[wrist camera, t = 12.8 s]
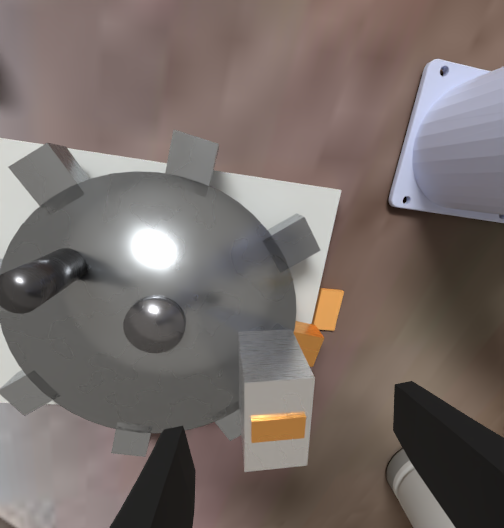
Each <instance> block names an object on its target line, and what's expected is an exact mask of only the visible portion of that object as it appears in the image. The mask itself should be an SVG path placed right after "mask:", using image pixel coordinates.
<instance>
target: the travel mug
mask: <svg viewBox="0 0 504 528" xmlns="http://www.w3.org/2000/svg"><path fill="white" fill-rule="evenodd" d="M387 480H388V483H389V485H390V486H391V488H392V490H393V492H394V494H395V495H396V497H397V499H398V500H399V502H400V504H401V506H402V508H403V510H404V512H405V514H406V515H407V517H408V519H409V521H410V523H411V524H412V526H413V528H455V526H454V525H453V523H452V522H451V521H450V519H449V518H448V516H447V515H446V513H445V512H444V510H443V509H442V508H441V506H440V505H439V503H438V502H437V500H436V499H435V497H434V496H433V494H432V493H431V492H430V490H429V489H428V487H427V486H426V484H425V483H424V481H423V480H422V478H421V477H420V475H419V474H418V473H417V471H416V470H415V468H414V467H413V465H412V464H411V462H410V460H409V458H408V456H407V455H406V453H405V451H404V449H403V448H402V449H401V450H400V451H399V452H397V453H396V455H395V456H394V457H393V458H392V460H391V461H390V463H389V465H388V468H387Z"/></svg>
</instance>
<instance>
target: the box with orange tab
mask: <svg viewBox="0 0 504 528" xmlns="http://www.w3.org/2000/svg"><path fill="white" fill-rule="evenodd" d="M238 334H239V411H240V423H241V436H242V448H243V460H244V472H250V471H259V470H269V469H278V468H288V467H297V466H307V461H308V450H309V439H310V428H311V416H312V405H313V394H314V383H315V377H314V375H313V373H312V371H311V369H310V367H309V364H308V362H307V360H306V358H305V356H304V354H303V352H302V350H301V348H300V346H299V343H298V341H297V339H296V337H295V335H294V333H293V331H292V329H287V330H267V331H247V332H238Z"/></svg>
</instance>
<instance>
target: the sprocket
mask: <svg viewBox="0 0 504 528" xmlns="http://www.w3.org/2000/svg"><path fill="white" fill-rule="evenodd" d="M218 149H219V144H217V143H214V142H211V141H208V140H205V139H202V138H199V137H195V136H192V135H189V134H186V133H183V132H180V131H177V130H173V135H172V140H171V146H170V151H169V156H168V161H167V167H166V172H165V173H160V172H139V171H134V172H123V173H112V174H108V175H104V176H99V177H95V178H91V179H89V178H88V176H87V175H86V173H85V172H84V171H83V169H82V168H81V167H80V165H79V164H78V162H77V161H76V160H75V158H74V157H73V155H72V154H71V153H70V151H69V150H68V149H67V147H64V146H60V145H55V144H51V143H46V144H44V145H43V146H41V147H39V148H38V149H36V150H35V151H33V152H31V153H30V154H28V155H27V156H25V157H23V158H22V159H20V160H18V161H17V162H15V163H14V164H12V165H10V166H9V167H8V168H9V169H10V170H11V171H12V173H13V174H14V175H15V176H16V178H17V179H18V180H19V181H20V182H21V184H22V185H23V186H24V187H25V189H26V190H27V191H28V192H29V194H30V195H31V196H32V197H33V199H34V200H35V201H36V202H37V203H38V205H39V206H40V207H38V208H37V209H36V210H35V211H34V212H33V213H32V214H31V215H30V216H29V217H28V218H27V219H26V221H25V222H24V223H23V224H22V225H21V226H20V228H19V229H18V231H17V232H16V234H15V236H14V237H13V239H12V240H11V242H10V244H9V246H8V248H7V251H6V253H5V255H4V258H3V259H1V258H0V324H1V328H2V332H3V335H4V338H5V340H6V342H7V345H8V347H9V350H10V351H11V353H12V355H13V356H14V358H15V360H16V362H17V363H18V365H19V366H20V368H21V369H22V370H21V371H19V372H17V373H16V374H15V375H14V376H13V377H12V378H11V379H10V380H9V381H8V382H6V383H5V384H4V385H3V386H2V387H1V388H0V395H1V396H2V397H4V398H5V399H6V400H7V401H8V402H9V403H10V404H11V405H13V406H14V407H15V408H16V409H17V410H18V411H19V412H20V413H22V414H23V415H24V416H26V415H27V414H29V413H31V412H33V411H35V410H36V409H38V408H40V407H42V406H43V405H45V404H47V403H49V402H51V401H52V400H53V401H54V402H56V403H57V404H59V405H60V406H62V407H64V408H65V409H67V410H68V411H70V412H72V413H74V414H76V415H78V416H80V417H82V418H84V419H86V420H88V421H91V422H94V423H97V424H100V425H103V426H106V427H110V428H114V429H116V432H115V437H114V442H113V448H112V453H115V454H124V455H134V456H143V457H145V456H146V452H147V449H148V445H149V441H150V438H151V434H152V433H162V431H163V430H164V429H168V428H173V427H178V426H183V427H184V430H189V429H193V428H197V427H200V426H204V425H207V424H210V423H212V422H215V423H216V424H217V425H218V427H219V428H220V429H221V430H222V432H223V433H224V434H225V435H226V437H227V438H228V439H229V440H230V441H231V440H233V439H235V438H236V437H238V436H240V435H241V423H240V411H239V334H238V332H247V331H267V330H287V329H292V331H293V333H294V335H295V337H296V339H297V341H298V343H299V346H300V348H301V350H302V352H303V354H304V356H305V358H306V360H307V362H308V364H309V366H310V367H313V365H314V363H315V360H316V357H317V355H318V352H319V350H320V347H321V345H322V342H323V340H324V337H323V336H322V334H321V333H320V331H319V329H318V328H317V326H316V325H313V324H308V323H303V322H299V321H296V294H295V289H294V283H293V278H292V275H291V272H290V270H289V268H290V267H292V266H294V265H296V264H297V263H299V262H301V261H303V260H305V259H306V258H308V257H310V256H312V255H313V254H315V253H317V252H319V251H321V250H320V248H319V246H318V244H317V241H316V239H315V237H314V235H313V233H312V231H311V229H310V227H309V225H308V223H307V221H306V219H305V217H304V216H302V215H299V214H297V213H296V214H295V215H293V216H291V217H289V218H288V219H286V220H284V221H282V222H280V223H279V224H277V225H275V226H273V227H272V228H270V229H268V230H267V229H266V228H265V227H264V226H263V225H262V224H261V222H260V221H259V220H258V219H257V218H256V217H255V216H254V215H253V214H252V213H251V212H250V211H249V210H248V209H246V208H245V207H244V206H243V205H242V204H240V203H239V202H238V201H237V200H235V199H233V198H232V197H230V196H229V195H227V194H226V193H224V192H222V191H221V190H218V189H216V188H214V187H212V186H210V183H211V179H212V175H213V171H214V166H215V162H216V158H217V154H218Z"/></svg>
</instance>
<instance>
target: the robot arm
mask: <svg viewBox="0 0 504 528" xmlns="http://www.w3.org/2000/svg"><path fill="white" fill-rule="evenodd" d="M440 69H442V70H443V76H441V75H440ZM405 196H406V198H407V200H406V202H405V203H403V198H404V197H405ZM388 201H389V204H390V205H391V206H393V207H398V208H405V209H412V210H419V211H425V212H432V213H439V214H446V215H452V216H459V217H466V218H473V219H479V220H486V221H493V222H500V223H504V67H501V68H499V69H496V70H494V71H486V70H482V69H478V68H474V67H470V66H466V65H461V64H457V63H453V62H449V61H445V60H441V59H435V60H433V61H431V62H429V63H428V64H427V65H426V66H425V68H424V71H423V74H422V78H421V82H420V85H419V89H418V93H417V96H416V100H415V103H414V107H413V111H412V114H411V118H410V122H409V125H408V129H407V133H406V136H405V140H404V144H403V147H402V151H401V155H400V158H399V162H398V166H397V169H396V173H395V177H394V180H393V184H392V188H391V191H390V195H389V200H388ZM499 215H500V216H499ZM393 431H394V433H395V435H396V436H397V438H398V440H399V442H400V444H401V446H402V448H403V449H404V451H405V453H406V455H407V456H408V458H409V460H410V462H411V464H412V465H413V467H414V468H415V470H416V471H417V473H418V474H419V475H420V477H421V478H422V480H423V481H424V483H425V484H426V486H427V487H428V489H429V490H430V492H431V493H432V494H433V496H434V497H435V499H436V500H437V502H438V503H439V505H440V506H441V508H442V509H443V510H444V512H445V513H446V515H447V516H448V518H449V519H450V521H451V522H452V523H453V525H454V526H455V528H504V438H503V437H501V436H500V435H498V434H496V433H495V432H493V431H491V430H490V429H488V428H486V427H485V426H483V425H481V424H480V423H478V422H477V421H475V420H473V419H472V418H470V417H468V416H467V415H465V414H464V413H462V412H460V411H459V410H457V409H456V408H454V407H452V406H451V405H449V404H448V403H446V402H444V401H443V400H441V399H440V398H438V397H437V396H435V395H433V394H432V393H430V392H429V391H427V390H426V389H424V388H422V387H421V386H419V385H417V384H416V383H414V382H412V381H410V382H405V383H400V384H395V394H394V423H393ZM194 503H195V468H194V464H193V460H192V457H191V453H190V449H189V445H188V442H187V438H186V434H185V431H184V427H183V426H178V427H173V428H168V429H164V430H163V431H162V433H161V435H160V437H159V439H158V441H157V443H156V445H155V447H154V449H153V451H152V453H151V455H150V457H149V458H148V460H147V462H146V464H145V466H144V468H143V470H142V472H141V474H140V475H139V477H138V479H137V481H136V483H135V484H134V486H133V488H132V490H131V492H130V493H129V495H128V497H127V499H126V500H125V502H124V504H123V506H122V508H121V509H120V511H119V513H118V514H117V516H116V518H115V519H114V521H113V523H112V524H111V526H110V528H192V526H193V517H194Z"/></svg>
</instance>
